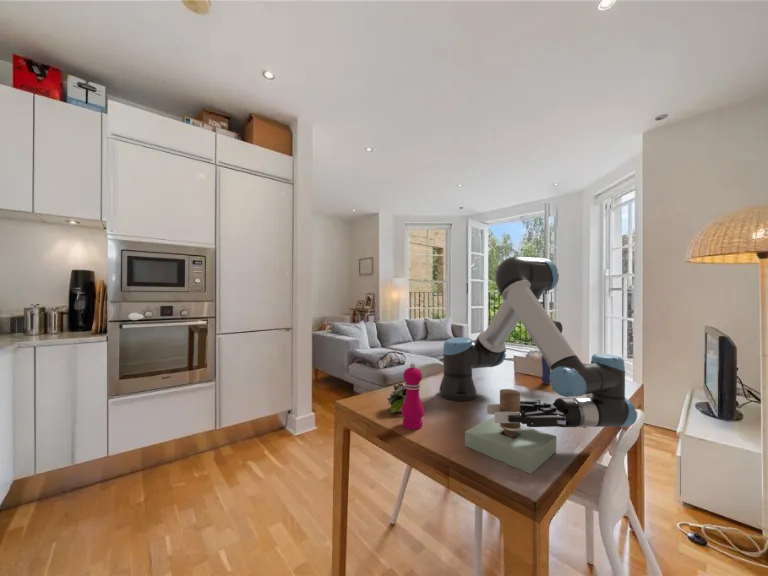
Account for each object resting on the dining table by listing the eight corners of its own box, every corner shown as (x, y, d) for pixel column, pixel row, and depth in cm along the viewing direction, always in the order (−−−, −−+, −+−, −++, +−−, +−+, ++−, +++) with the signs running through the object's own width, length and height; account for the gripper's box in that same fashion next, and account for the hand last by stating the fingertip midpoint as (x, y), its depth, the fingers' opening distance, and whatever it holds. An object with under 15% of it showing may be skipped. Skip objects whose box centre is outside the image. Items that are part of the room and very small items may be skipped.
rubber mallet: (564, 385, 144) (563, 320, 145) (555, 388, 140) (555, 321, 141) (538, 379, 155) (537, 318, 155) (529, 381, 151) (529, 319, 151)
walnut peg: (495, 439, 86) (495, 391, 87) (505, 433, 90) (505, 387, 90) (515, 446, 82) (514, 396, 83) (524, 439, 86) (524, 392, 86)
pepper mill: (417, 432, 96) (417, 366, 96) (397, 426, 100) (397, 363, 100) (427, 423, 102) (427, 362, 103) (407, 419, 106) (407, 359, 106)
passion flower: (398, 421, 117) (406, 390, 124) (420, 424, 110) (428, 391, 116) (377, 410, 112) (387, 378, 118) (399, 412, 104) (409, 378, 110)
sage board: (465, 445, 88) (465, 431, 88) (494, 429, 98) (494, 416, 98) (530, 473, 74) (530, 456, 74) (556, 451, 85) (556, 436, 85)
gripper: (597, 441, 78) (504, 442, 77) (555, 413, 96) (479, 414, 95) (597, 411, 78) (504, 412, 77) (554, 388, 96) (479, 389, 95)
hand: (491, 413), depth 86 cm, fingers open, 5 cm apart
